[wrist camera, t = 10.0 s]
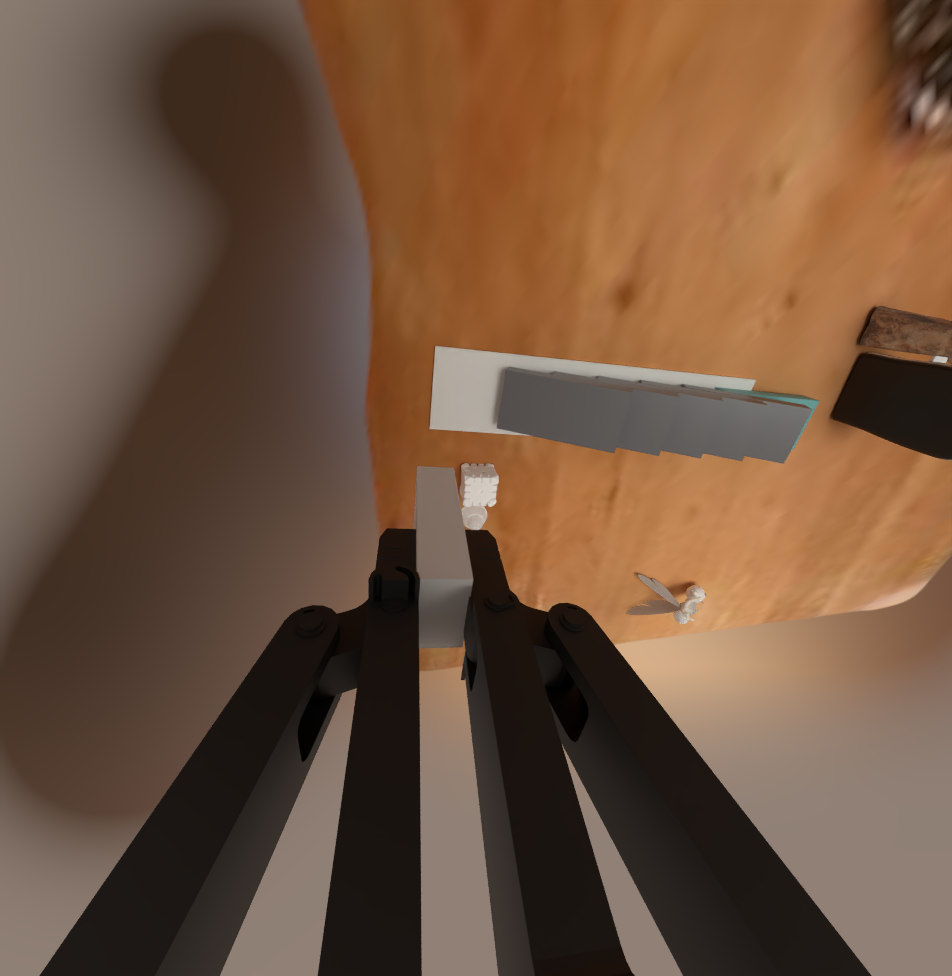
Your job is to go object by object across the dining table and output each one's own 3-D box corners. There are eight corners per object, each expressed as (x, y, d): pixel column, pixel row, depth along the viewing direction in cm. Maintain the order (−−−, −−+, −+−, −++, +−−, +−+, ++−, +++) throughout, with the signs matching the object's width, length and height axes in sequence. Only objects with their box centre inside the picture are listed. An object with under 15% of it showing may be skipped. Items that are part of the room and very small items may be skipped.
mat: (435, 345, 32) (435, 346, 32) (753, 379, 37) (755, 380, 37) (429, 427, 35) (429, 428, 35) (722, 447, 41) (724, 448, 40)
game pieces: (459, 462, 38) (463, 477, 35) (493, 462, 38) (500, 477, 35) (454, 561, 43) (457, 581, 41) (484, 560, 44) (488, 580, 41)
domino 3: (598, 378, 33) (724, 401, 32) (597, 375, 35) (719, 396, 33) (583, 434, 36) (700, 458, 34) (583, 429, 37) (696, 451, 35)
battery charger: (858, 419, 41) (999, 467, 31) (826, 420, 41) (959, 469, 31) (893, 349, 38) (1063, 378, 28) (859, 350, 37) (1019, 379, 28)
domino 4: (642, 383, 34) (768, 405, 32) (640, 379, 36) (761, 400, 34) (624, 437, 36) (741, 461, 35) (623, 432, 38) (736, 454, 36)
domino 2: (553, 374, 33) (680, 397, 31) (554, 371, 34) (676, 392, 32) (541, 431, 35) (658, 455, 33) (543, 426, 36) (656, 449, 35)
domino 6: (727, 391, 36) (819, 400, 37) (715, 386, 37) (805, 396, 39) (705, 443, 38) (793, 449, 40) (695, 437, 39) (780, 443, 41)
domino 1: (505, 369, 32) (633, 392, 30) (509, 366, 33) (631, 388, 32) (496, 428, 34) (614, 453, 32) (500, 423, 36) (613, 446, 34)
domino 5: (686, 387, 35) (812, 409, 33) (682, 383, 36) (803, 404, 34) (666, 440, 37) (783, 463, 35) (664, 435, 38) (776, 457, 37)
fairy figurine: (700, 610, 50) (683, 644, 46) (646, 584, 54) (625, 613, 50) (715, 573, 47) (698, 606, 43) (657, 549, 51) (636, 576, 47)
